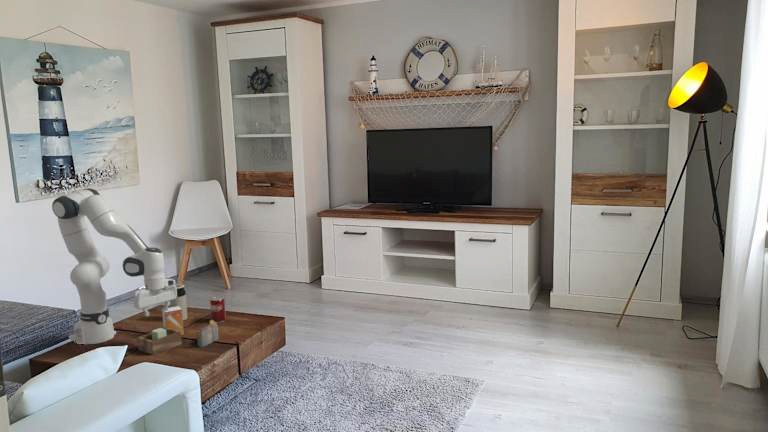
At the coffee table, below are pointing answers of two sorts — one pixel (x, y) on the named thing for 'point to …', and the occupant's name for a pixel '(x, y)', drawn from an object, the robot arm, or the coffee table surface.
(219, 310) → the soda can
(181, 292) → the travel mug
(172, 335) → the crate
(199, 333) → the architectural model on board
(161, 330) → the sage block
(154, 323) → the coffee table surface
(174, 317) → the small box
